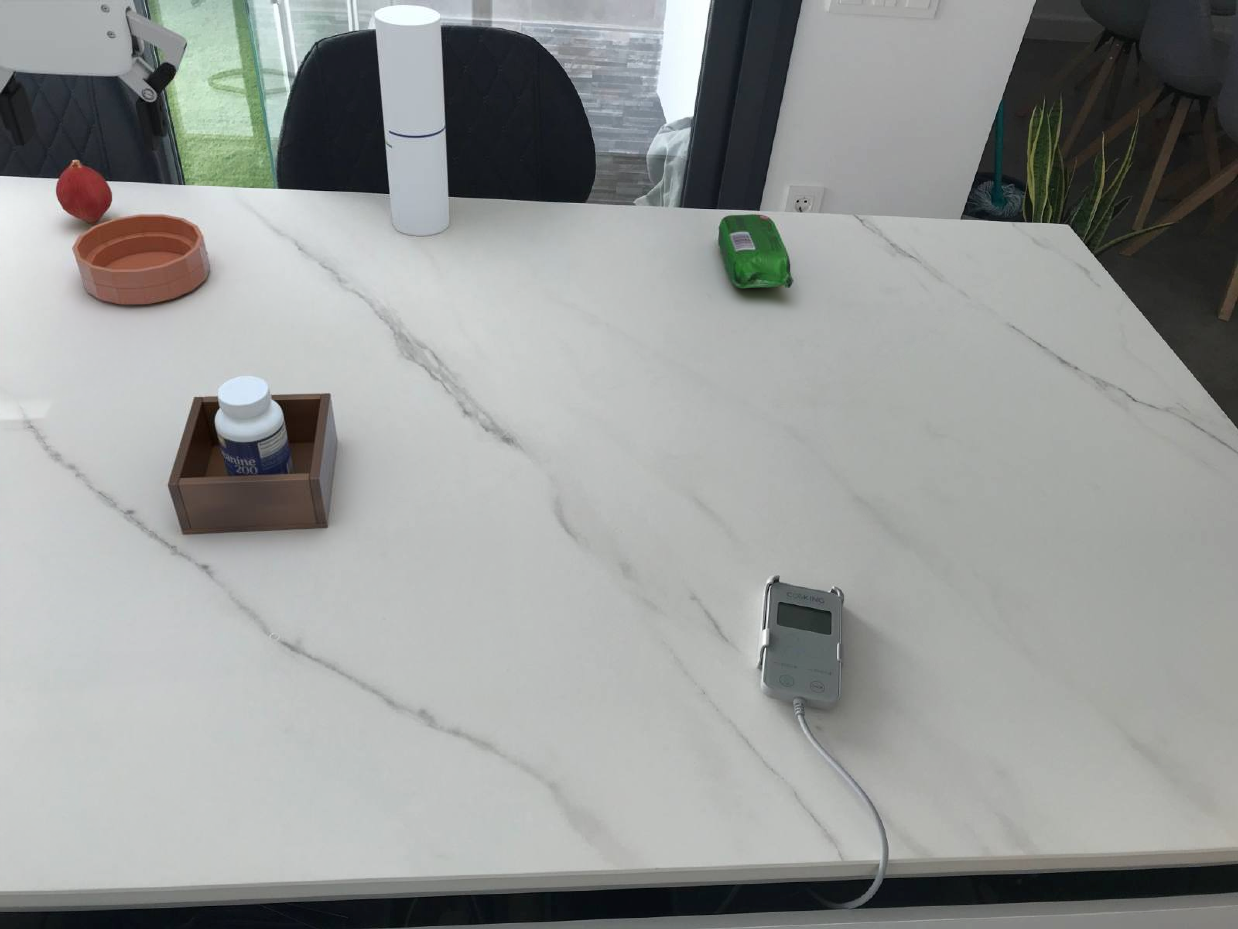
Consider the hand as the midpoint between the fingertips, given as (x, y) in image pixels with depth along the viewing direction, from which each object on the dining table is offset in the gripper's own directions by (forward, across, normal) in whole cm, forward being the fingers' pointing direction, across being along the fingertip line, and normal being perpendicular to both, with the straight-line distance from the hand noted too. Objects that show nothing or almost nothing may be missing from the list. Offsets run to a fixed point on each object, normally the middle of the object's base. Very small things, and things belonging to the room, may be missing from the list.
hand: (91, 141), depth 79 cm
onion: (+25, +15, -34) cm, 45 cm away
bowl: (+25, +6, -21) cm, 33 cm away
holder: (+24, -12, +14) cm, 31 cm away
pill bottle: (+24, -12, +14) cm, 30 cm away
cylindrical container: (+25, -24, -35) cm, 49 cm away
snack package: (+24, -64, -22) cm, 72 cm away
